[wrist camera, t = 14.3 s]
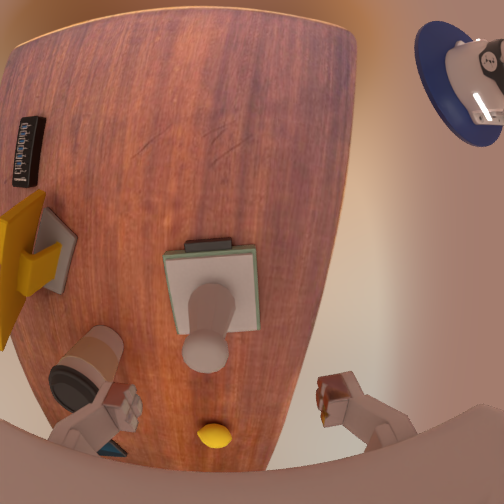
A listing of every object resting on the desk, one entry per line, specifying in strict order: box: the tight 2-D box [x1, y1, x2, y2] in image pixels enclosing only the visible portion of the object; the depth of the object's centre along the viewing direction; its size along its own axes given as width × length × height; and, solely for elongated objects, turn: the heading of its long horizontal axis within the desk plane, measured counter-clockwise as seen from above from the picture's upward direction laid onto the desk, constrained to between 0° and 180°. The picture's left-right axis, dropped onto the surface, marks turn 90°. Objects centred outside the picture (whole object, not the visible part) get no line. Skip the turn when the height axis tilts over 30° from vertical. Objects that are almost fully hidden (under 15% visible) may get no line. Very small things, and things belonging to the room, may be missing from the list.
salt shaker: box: [182, 283, 236, 373], centre depth 29 cm, size 6×6×13 cm
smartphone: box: [97, 440, 127, 457], centre depth 49 cm, size 8×15×1 cm, turn 108°
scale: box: [163, 237, 260, 334], centre depth 36 cm, size 12×13×3 cm
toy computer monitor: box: [0, 190, 77, 351], centre depth 27 cm, size 20×8×16 cm, turn 150°
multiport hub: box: [12, 116, 46, 188], centre depth 29 cm, size 4×11×2 cm, turn 169°
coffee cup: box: [49, 325, 124, 413], centre depth 32 cm, size 9×9×15 cm
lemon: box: [197, 423, 232, 448], centre depth 44 cm, size 7×5×5 cm
